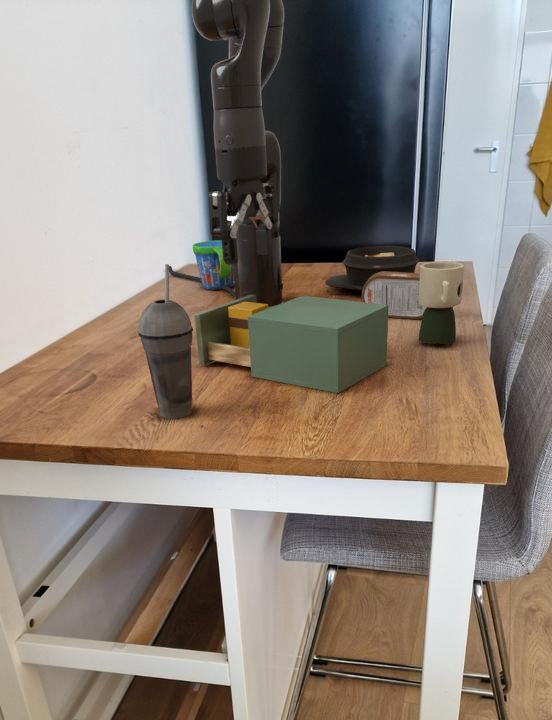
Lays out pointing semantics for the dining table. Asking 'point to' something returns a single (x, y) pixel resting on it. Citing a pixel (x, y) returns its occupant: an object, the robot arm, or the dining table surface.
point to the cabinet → (318, 342)
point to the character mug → (440, 300)
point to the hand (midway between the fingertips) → (247, 259)
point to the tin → (395, 293)
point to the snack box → (242, 321)
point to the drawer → (219, 336)
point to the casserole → (373, 265)
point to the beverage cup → (168, 353)
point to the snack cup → (213, 265)
